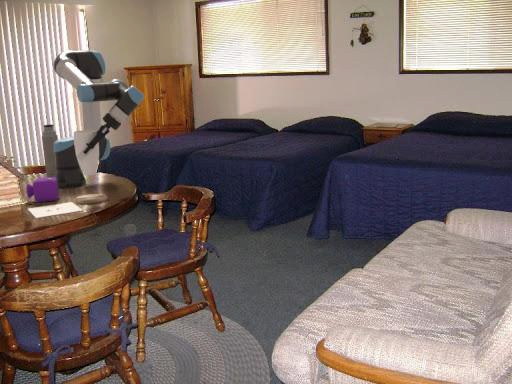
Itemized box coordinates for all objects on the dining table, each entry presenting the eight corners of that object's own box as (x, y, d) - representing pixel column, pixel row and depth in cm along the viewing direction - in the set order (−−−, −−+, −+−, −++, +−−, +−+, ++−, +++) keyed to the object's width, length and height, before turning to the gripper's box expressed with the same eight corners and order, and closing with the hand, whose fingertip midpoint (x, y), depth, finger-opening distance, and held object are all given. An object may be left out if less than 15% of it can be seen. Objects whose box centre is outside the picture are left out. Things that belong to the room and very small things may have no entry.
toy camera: (26, 199, 248) (23, 177, 246) (58, 196, 253) (56, 174, 251) (27, 204, 238) (24, 182, 236) (60, 200, 243) (58, 178, 241)
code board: (27, 209, 230) (27, 208, 230) (71, 202, 239) (71, 202, 239) (36, 218, 215) (35, 217, 215) (82, 210, 224) (82, 210, 224)
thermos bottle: (43, 177, 298) (37, 125, 292) (51, 175, 306) (45, 124, 300) (57, 177, 297) (51, 125, 291) (64, 175, 305) (58, 123, 299)
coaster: (72, 200, 244) (72, 196, 243) (101, 195, 250) (101, 192, 250) (80, 205, 233) (80, 202, 233) (110, 200, 240) (110, 197, 239)
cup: (100, 183, 234) (95, 132, 230) (75, 184, 234) (69, 133, 229) (105, 178, 244) (100, 129, 240) (81, 179, 244) (75, 130, 239)
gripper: (121, 126, 226) (85, 167, 226) (122, 121, 248) (89, 158, 248) (106, 113, 224) (70, 155, 224) (109, 110, 245) (76, 147, 246)
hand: (80, 157), depth 236 cm, fingers closed on cup, 10 cm apart
